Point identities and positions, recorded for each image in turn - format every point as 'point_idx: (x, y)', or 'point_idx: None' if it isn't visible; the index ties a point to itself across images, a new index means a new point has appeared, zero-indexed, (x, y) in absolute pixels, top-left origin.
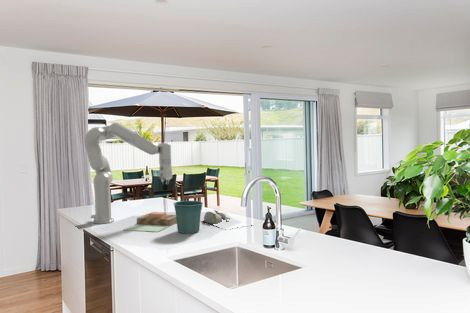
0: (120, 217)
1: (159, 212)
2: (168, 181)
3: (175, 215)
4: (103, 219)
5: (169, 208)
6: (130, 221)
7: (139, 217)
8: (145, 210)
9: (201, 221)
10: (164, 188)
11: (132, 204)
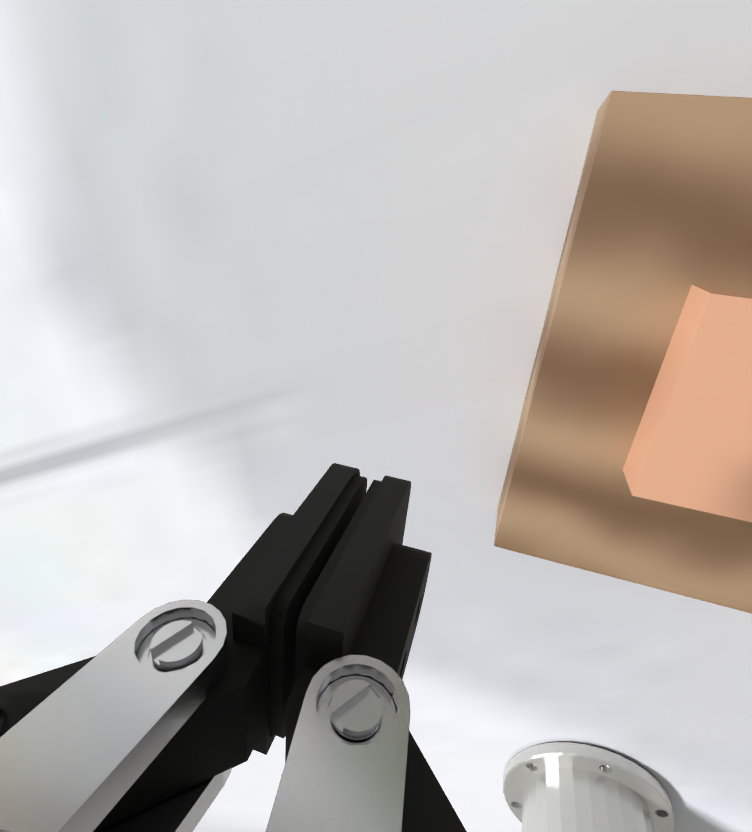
0: (413, 708)
1: (706, 400)
2: (107, 710)
3: (643, 149)
4: (652, 827)
5: (22, 433)
6: (574, 633)
7: (740, 595)
8: (147, 587)
9: None
10: (420, 601)
11: (24, 678)
